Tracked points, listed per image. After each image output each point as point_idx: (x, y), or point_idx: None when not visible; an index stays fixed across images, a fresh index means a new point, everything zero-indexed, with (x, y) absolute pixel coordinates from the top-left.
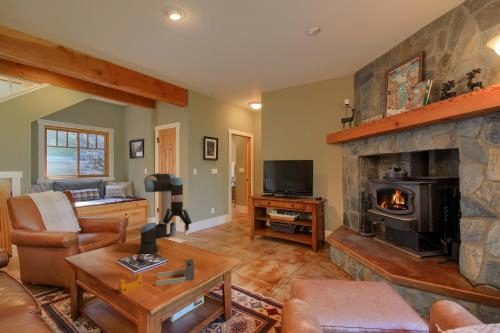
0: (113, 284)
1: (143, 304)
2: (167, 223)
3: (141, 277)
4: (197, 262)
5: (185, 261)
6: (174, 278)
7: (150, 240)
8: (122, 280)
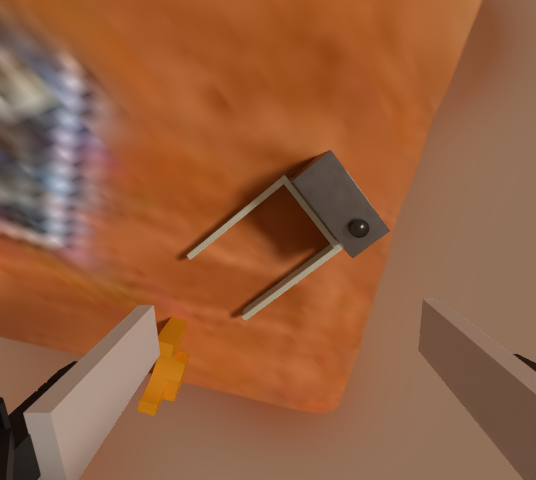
0: None
1: (297, 409)
2: (34, 466)
3: (178, 338)
4: (267, 21)
5: (309, 200)
6: (299, 273)
7: None
8: (152, 409)
